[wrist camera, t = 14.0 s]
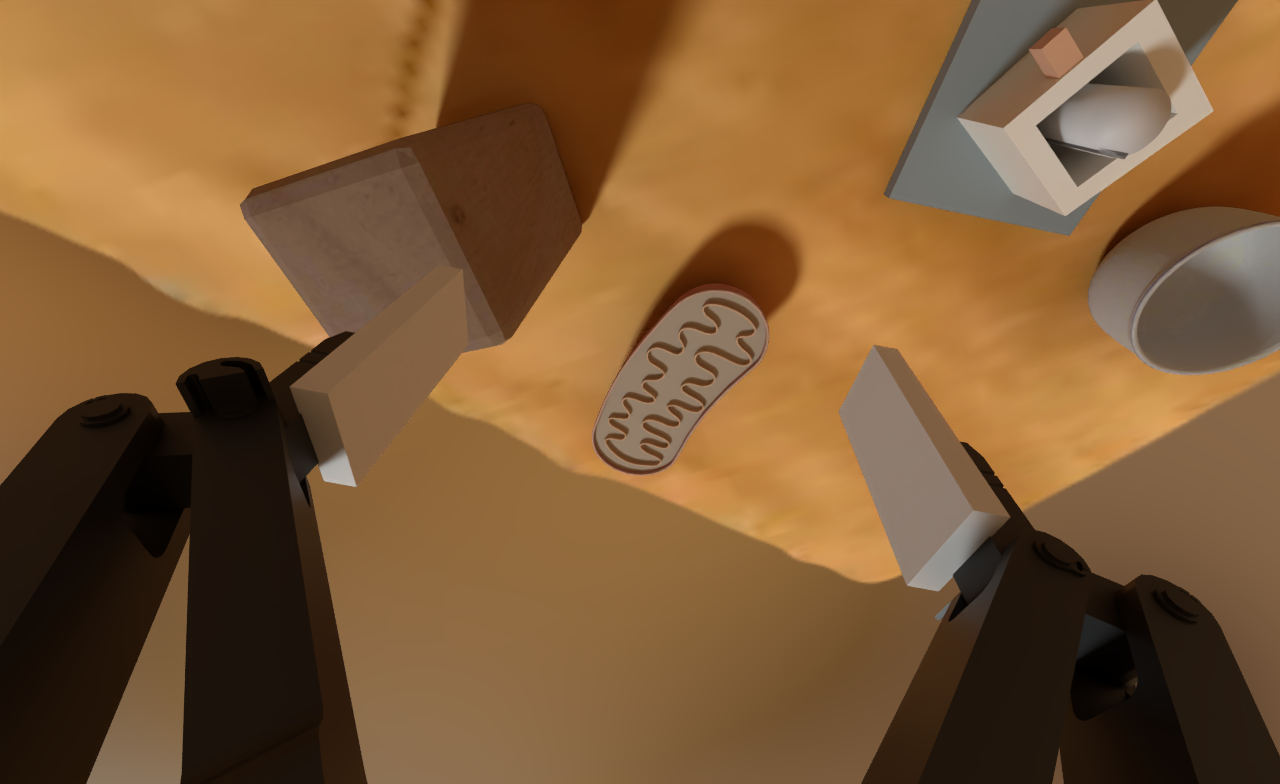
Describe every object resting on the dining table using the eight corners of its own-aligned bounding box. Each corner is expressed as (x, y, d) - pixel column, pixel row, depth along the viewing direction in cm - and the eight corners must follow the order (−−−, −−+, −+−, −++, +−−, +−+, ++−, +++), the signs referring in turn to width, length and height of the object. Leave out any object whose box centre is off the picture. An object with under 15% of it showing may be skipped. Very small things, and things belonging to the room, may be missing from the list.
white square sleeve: (1131, 102, 30) (1213, 111, 26) (1013, 193, 34) (1065, 216, 29) (1060, -20, 27) (1138, -36, 23) (939, 94, 31) (984, 101, 26)
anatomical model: (656, 455, 55) (653, 487, 50) (579, 419, 52) (570, 449, 48) (783, 298, 42) (792, 324, 38) (689, 242, 40) (688, 263, 36)
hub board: (995, -52, 28) (1104, -91, 20) (1221, -2, 28) (1411, -23, 21) (883, 194, 36) (931, 230, 29) (1059, 230, 36) (1152, 276, 29)
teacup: (1071, 344, 42) (1140, 398, 35) (1056, 238, 37) (1133, 277, 30) (1286, 269, 36) (1413, 315, 30) (1301, 133, 31) (1458, 154, 25)
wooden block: (543, 97, 35) (408, 134, 18) (588, 231, 40) (513, 350, 24) (428, 137, 37) (218, 199, 21) (484, 257, 42) (352, 382, 26)
